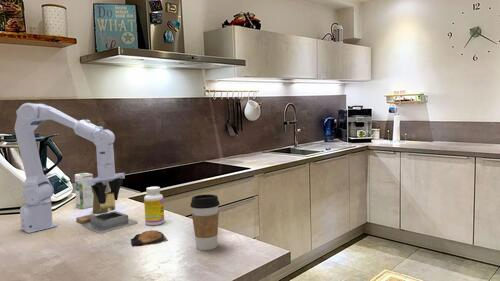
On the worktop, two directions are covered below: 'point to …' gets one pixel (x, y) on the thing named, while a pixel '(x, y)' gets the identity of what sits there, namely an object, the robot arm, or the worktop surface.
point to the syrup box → (83, 190)
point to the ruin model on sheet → (106, 186)
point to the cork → (96, 204)
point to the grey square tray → (108, 222)
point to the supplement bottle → (154, 206)
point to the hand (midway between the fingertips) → (108, 201)
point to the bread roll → (148, 238)
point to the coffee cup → (205, 220)
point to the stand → (84, 219)
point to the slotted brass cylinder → (108, 202)
